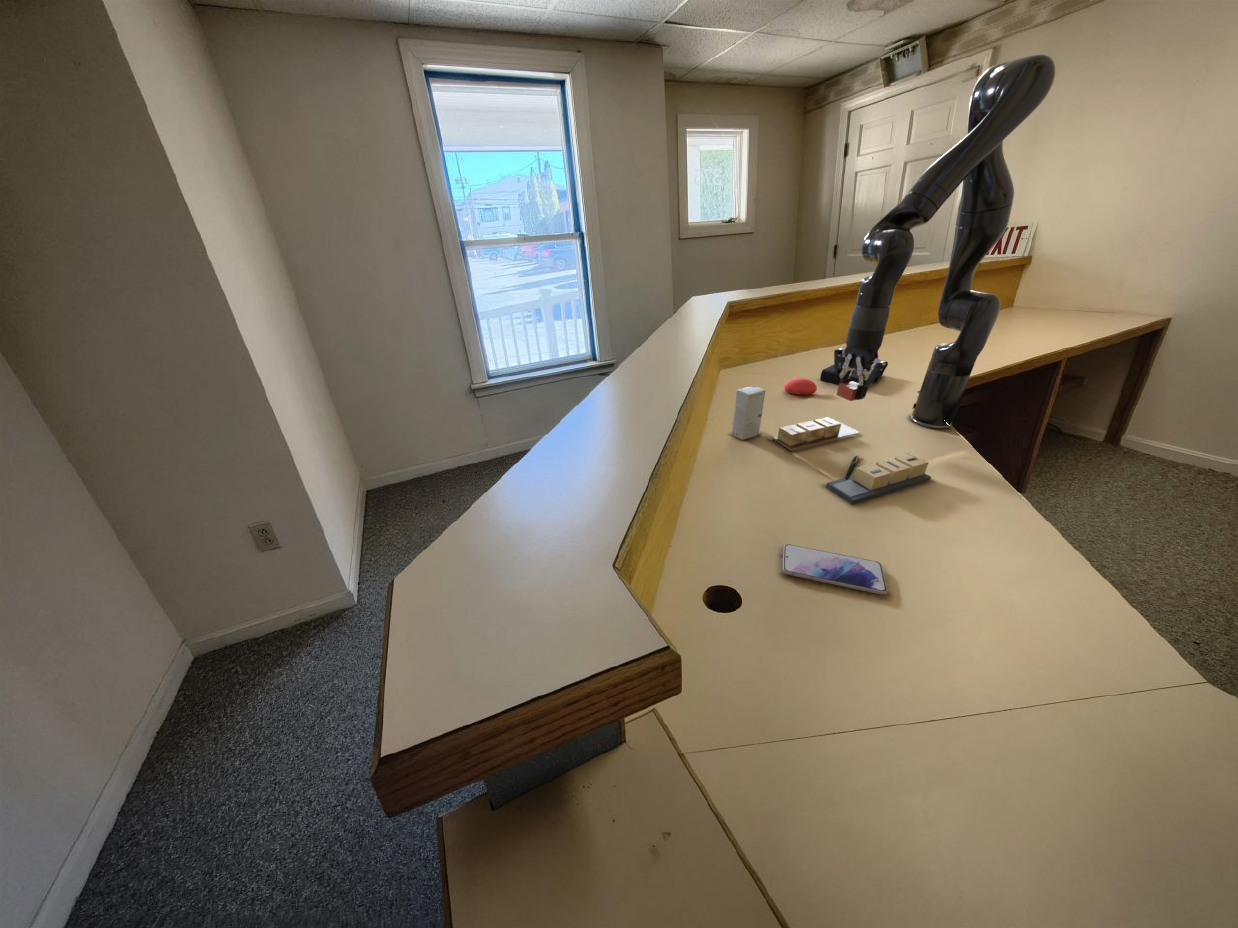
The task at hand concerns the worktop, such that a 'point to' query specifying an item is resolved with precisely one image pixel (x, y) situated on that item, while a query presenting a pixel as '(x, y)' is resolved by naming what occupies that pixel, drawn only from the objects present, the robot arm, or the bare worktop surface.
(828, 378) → the multimeter
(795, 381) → the stress ball
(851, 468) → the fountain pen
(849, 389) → the red plus-sign block
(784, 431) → the letter tile tray
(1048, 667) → the worktop surface
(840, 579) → the smartphone
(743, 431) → the cosmetic box
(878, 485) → the wooden block rack
